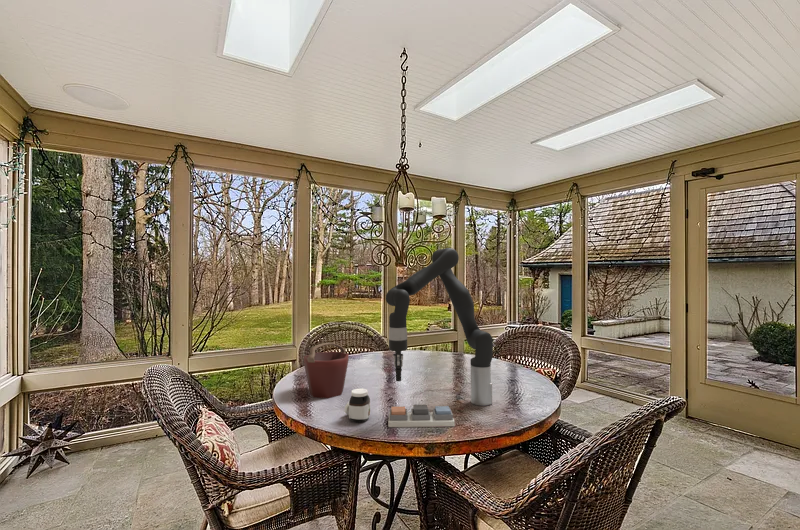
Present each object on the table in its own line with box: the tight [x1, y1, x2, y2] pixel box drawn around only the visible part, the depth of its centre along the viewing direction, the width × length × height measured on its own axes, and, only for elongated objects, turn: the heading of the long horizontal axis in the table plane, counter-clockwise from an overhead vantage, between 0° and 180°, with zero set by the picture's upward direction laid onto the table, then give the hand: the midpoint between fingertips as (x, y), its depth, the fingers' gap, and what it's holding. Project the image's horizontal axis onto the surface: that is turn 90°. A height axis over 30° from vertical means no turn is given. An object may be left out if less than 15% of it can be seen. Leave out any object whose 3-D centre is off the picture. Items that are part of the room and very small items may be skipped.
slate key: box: [434, 405, 452, 415], centre depth 156 cm, size 6×6×2 cm
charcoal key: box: [412, 404, 429, 415], centre depth 156 cm, size 6×6×2 cm
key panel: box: [387, 408, 456, 428], centre depth 156 cm, size 26×10×4 cm, turn 91°
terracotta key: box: [391, 406, 406, 415], centre depth 156 cm, size 6×6×2 cm
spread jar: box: [343, 388, 371, 423], centre depth 161 cm, size 12×11×12 cm
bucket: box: [303, 342, 350, 399], centre depth 194 cm, size 24×22×25 cm
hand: (398, 380), depth 156 cm, fingers closed
